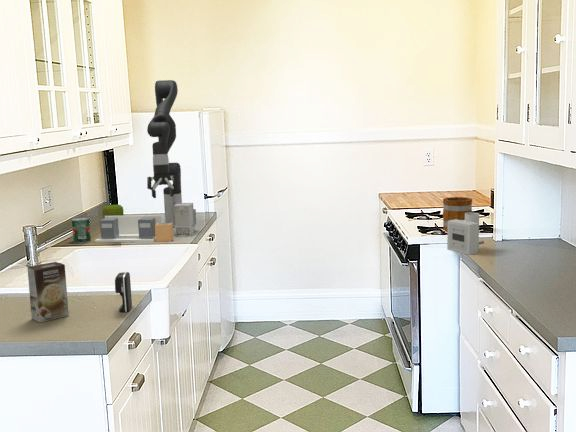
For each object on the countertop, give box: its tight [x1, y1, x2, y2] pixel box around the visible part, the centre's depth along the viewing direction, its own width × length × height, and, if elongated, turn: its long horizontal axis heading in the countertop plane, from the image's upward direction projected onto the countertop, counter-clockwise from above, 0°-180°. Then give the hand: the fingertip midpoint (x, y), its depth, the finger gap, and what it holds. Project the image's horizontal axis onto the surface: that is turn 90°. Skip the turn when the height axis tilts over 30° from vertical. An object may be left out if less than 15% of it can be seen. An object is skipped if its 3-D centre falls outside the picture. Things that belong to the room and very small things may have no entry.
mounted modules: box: [99, 218, 156, 238], centre depth 304 cm, size 6×25×8 cm, turn 84°
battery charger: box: [114, 271, 133, 313], centre depth 198 cm, size 7×4×11 cm, turn 5°
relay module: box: [155, 222, 174, 243], centre depth 300 cm, size 5×7×8 cm
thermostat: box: [446, 212, 485, 256], centre depth 262 cm, size 12×14×15 cm
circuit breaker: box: [174, 202, 197, 237], centre depth 315 cm, size 8×14×15 cm, turn 174°
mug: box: [442, 196, 473, 233], centre depth 305 cm, size 20×14×15 cm
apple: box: [102, 203, 124, 219], centre depth 351 cm, size 11×11×11 cm
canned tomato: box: [71, 217, 92, 244], centre depth 303 cm, size 8×8×11 cm
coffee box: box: [26, 261, 70, 323], centre depth 192 cm, size 9×6×16 cm
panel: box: [94, 214, 162, 243], centre depth 306 cm, size 15×28×10 cm, turn 84°
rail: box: [97, 235, 156, 239], centre depth 304 cm, size 4×27×1 cm, turn 84°
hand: (163, 197), depth 311 cm, fingers open, 8 cm apart
